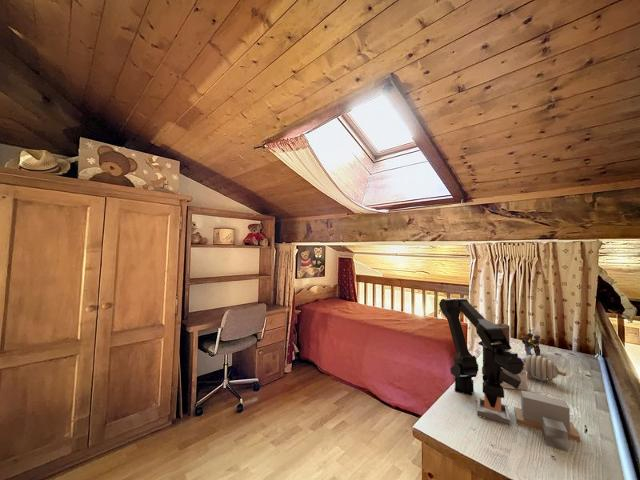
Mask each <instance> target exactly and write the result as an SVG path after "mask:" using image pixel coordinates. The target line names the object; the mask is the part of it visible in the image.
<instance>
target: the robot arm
mask: <svg viewBox="0 0 640 480" xmlns="http://www.w3.org/2000/svg"><path fill="white" fill-rule="evenodd" d="M438 305H439V308H440V311H441V314H442V315H443V316H444V317H445V318H446V319H447V322H448V326H449V331H450V334H451V338H452V342H453V345H454V350H455V355H454V358H453V362H454V364H453V365H452V366H451V367H450V368H449V370H450V374H451V375H453V376H454V391H455V392H457V393H461V394H465V395H469V396H473V393H474V392H475V391H474V379H473V378H477V376H478V372H479V364H478V361H477V357H476V356H475V355H473V354H472V353H471V352H470V351H469V349H468V345H467V341H466V338H465V337H466V336H465V335H464V334H465V333H464V330H463V327H462V323H461V319H460V316H461V315H460V314H461V313H462V314H463V315H464V316H465V317H466V319H467V320H468V322H470V323H471V324H472V325H473V326H474V327H475V332H476V334H477V336H478V337H479V339H480V340H481V341H479V342H478V343H477V344H478V345H480V346H481V347H482V367H481V373H482V381H483V382H482V393H483V394H484V393H485V395H486V397H487V399H488V401H489V403H490V406H491V407H493V408H495V404H496V401H497V398H498V397H500V398H501V399H505V390H504V389H505V388H503V387H502V386H501V385H500V384H501V383H503V381H504V382H505V383H507V384H509V385H511V386H513V387H514V388H516V389H515V390H519V389H518V387H519V385H520V383H521V378H520V377H519V376H518V375H516V374H519V373H521V371H522V370H523V366H524V364H523V362H522V360H521V359H522V358H521V357H520V358H521V359H520V358H518V357H519V354H518V353H517V352H515V351H512V346H511V343H509V342H508V340H507V338H506V337H505V335H504V332H503V331H502V329H501V328H499V327H498V326H497V325H495V324H496V323H494V322H491V321H489V320H487V319H486V318H485V317H484V316H483V315H482V314H481V313H480V312H479V311H478V310H477V309H476V307H474V306H473V305H472V304H471V303H470V302H469V299H467V298H465V297H463V298H461V297H460V298H442V299H441V300H440V301H439V304H438ZM492 343H502V344H492ZM508 349H510V350H508ZM503 368H504V369H503Z"/></svg>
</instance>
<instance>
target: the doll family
mask: <svg viewBox="0 0 640 480" xmlns="http://www.w3.org/2000/svg"><path fill="white" fill-rule="evenodd" d="M526 334H527V335H521V342H522V344H524V351H525V356H526V357H527V356H528V355H531V356H533V355H536V356H541V357H542V354H541V349H540V339H541V336H540V335H539V334H535V335H534V334H533V333H531V332H529V333H526ZM532 350H533V352H534V354H533V353H532ZM540 354H541V355H540Z"/></svg>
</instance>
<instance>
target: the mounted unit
mask: <svg viewBox="0 0 640 480" xmlns="http://www.w3.org/2000/svg"><path fill="white" fill-rule="evenodd" d="M520 393H521V394H520V399H521V401H520V402H521V404H520V407H521V408H519V407H515V406H514V407H513V409H514V411H513V412H514V415H515V420H516V424H518V425H521V426H525V427H528V428H531V429H535V430H538V431H541V432H543V425H542V417H545V418H548V419H552V420H556V421H560V422H563V424H564V426H565V428H566V430H567V435H568V439H569V440H572V441H576V442H579V443H581V436H580V434H579V432H578V431H577V429H576V427H575V425H574V423H573V422H572V421H571V419H570V418H571V416H570V411H571V410H570V406H569V405H568V403H567V402H566V400H564V399H560V398H555V397H551V396H547V395H543V394H538V393H535V392H530V391H527V390H520Z"/></svg>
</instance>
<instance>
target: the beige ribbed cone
mask: <svg viewBox="0 0 640 480" xmlns="http://www.w3.org/2000/svg"><path fill="white" fill-rule="evenodd" d="M522 359H523V360H524V361H525V362H526V379H528V380H531V377H532V378H536V380H538V381H543V382H547V384H548V385H549V386H553V385H552V384H553V382H554V379H557V377H558V376H562V377H566V376H567V373H566V372H564V371H560V370H559V369H558V367H557V366H556V364H554V362H553V361H552V360H548V358H547V357H543V356H542V355H541V356H536V354H533V355H532V356H531V355H528V356H526V357H522Z"/></svg>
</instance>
